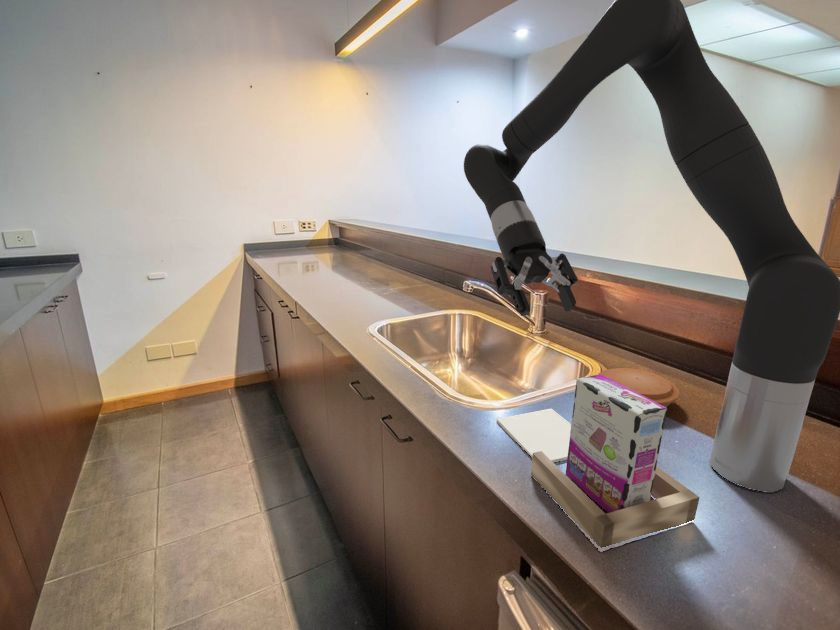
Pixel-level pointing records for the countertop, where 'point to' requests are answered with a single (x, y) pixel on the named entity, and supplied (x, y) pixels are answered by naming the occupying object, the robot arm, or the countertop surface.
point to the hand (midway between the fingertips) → (549, 311)
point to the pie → (645, 384)
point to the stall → (619, 525)
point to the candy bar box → (614, 442)
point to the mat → (540, 433)
